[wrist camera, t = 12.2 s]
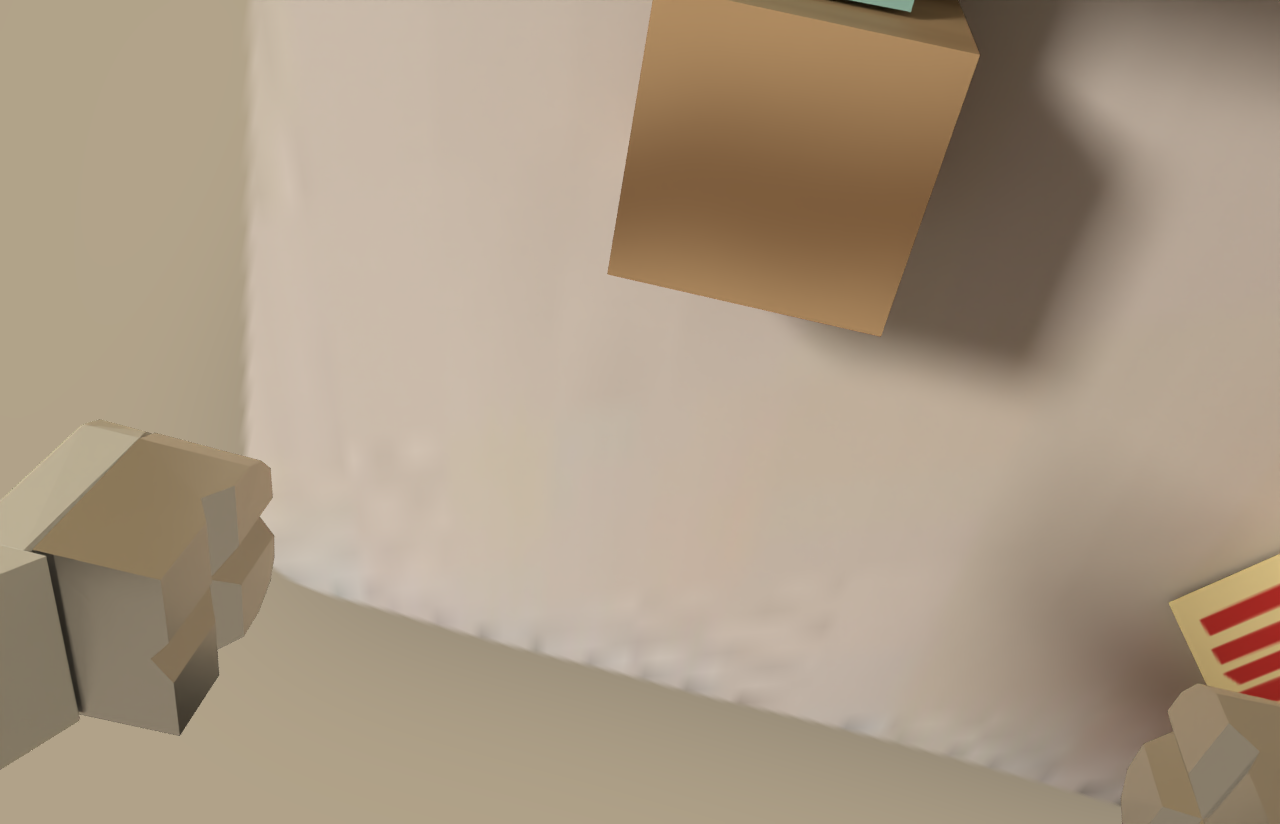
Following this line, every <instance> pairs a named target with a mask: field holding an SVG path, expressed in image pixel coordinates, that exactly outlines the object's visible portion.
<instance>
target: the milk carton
mask: <svg viewBox="0 0 1280 824" xmlns="http://www.w3.org/2000/svg"><path fill="white" fill-rule="evenodd" d="M1169 605H1170V607H1171V609H1172V611H1173V614H1174V616H1175V618H1176V620H1177V622H1178V624H1179V627H1180V629H1181V631H1182V633H1183V635H1184V637H1185V639H1186V642H1187V644H1188V646H1189V648H1190V650H1191V652H1192V655H1193V657H1194V659H1195V661H1196V663H1197V665H1198V667H1199V670H1200V672H1201V674H1202V676H1203V678H1204V680H1205V683H1206V685H1208V686H1212V687H1216V688H1221V689H1225V690H1229V691H1234V692H1238V693H1242V694H1247V695H1251V696H1255V697H1260V698H1264V699H1268V700H1273V701H1277V702H1280V554H1278V555H1276V556H1274V557H1272V558H1269V559H1267V560H1265V561H1262V562H1260V563H1258V564H1256V565H1253V566H1251V567H1249V568H1246V569H1244V570H1242V571H1240V572H1237V573H1235V574H1233V575H1230V576H1228V577H1226V578H1224V579H1221V580H1219V581H1217V582H1215V583H1212V584H1210V585H1208V586H1205V587H1203V588H1201V589H1199V590H1196V591H1194V592H1192V593H1189V594H1187V595H1185V596H1183V597H1180V598H1178V599H1176V600H1173V601H1171V602H1169Z"/></svg>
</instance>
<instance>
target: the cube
mask: <svg viewBox="0 0 1280 824" xmlns="http://www.w3.org/2000/svg"><path fill="white" fill-rule="evenodd" d="M979 57H980V53H979V51H978V48H977V46H976V43H975V41H974V38H973V36H972V34H971V31H970V29H969V26H968V24H967V21H966V19H965V16H964V14H963V11H962V9H961V6H960V4H959V1H958V0H914V3H913V6H912V10H911V12H908V11H903V10H898V9H893V8H888V7H883V6H877V5H872V4H867V3H862V2H857V1H852V0H653V2H652V8H651V14H650V20H649V26H648V32H647V38H646V44H645V50H644V56H643V62H642V69H641V75H640V81H639V87H638V93H637V99H636V105H635V111H634V117H633V123H632V129H631V135H630V141H629V147H628V153H627V159H626V165H625V171H624V177H623V183H622V189H621V195H620V201H619V207H618V213H617V219H616V225H615V231H614V237H613V243H612V249H611V255H610V261H609V267H608V273H607V274H609V275H613V276H617V277H622V278H626V279H630V280H635V281H639V282H644V283H648V284H652V285H657V286H661V287H666V288H670V289H674V290H679V291H683V292H687V293H692V294H696V295H701V296H705V297H709V298H714V299H718V300H722V301H727V302H731V303H736V304H740V305H744V306H749V307H753V308H758V309H762V310H766V311H771V312H775V313H779V314H784V315H788V316H793V317H797V318H801V319H806V320H810V321H814V322H819V323H823V324H828V325H832V326H836V327H841V328H845V329H849V330H854V331H858V332H863V333H867V334H871V335H876V336H880V337H881V335H882V332H883V329H884V326H885V324H886V321H887V318H888V315H889V312H890V309H891V306H892V304H893V301H894V298H895V295H896V292H897V289H898V287H899V284H900V281H901V278H902V275H903V272H904V270H905V267H906V264H907V261H908V258H909V255H910V253H911V250H912V247H913V244H914V241H915V238H916V235H917V233H918V230H919V227H920V224H921V221H922V218H923V216H924V213H925V210H926V207H927V204H928V201H929V199H930V196H931V193H932V190H933V187H934V184H935V182H936V179H937V176H938V173H939V170H940V167H941V164H942V162H943V159H944V156H945V153H946V150H947V147H948V145H949V142H950V139H951V136H952V133H953V130H954V128H955V125H956V122H957V119H958V116H959V113H960V111H961V108H962V105H963V102H964V99H965V96H966V93H967V91H968V88H969V85H970V82H971V79H972V76H973V74H974V71H975V68H976V65H977V62H978V59H979Z"/></svg>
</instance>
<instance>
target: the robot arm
mask: <svg viewBox="0 0 1280 824" xmlns="http://www.w3.org/2000/svg"><path fill="white" fill-rule="evenodd" d="M272 498H273V493H272V481H271V468H270V467H268V466H267V465H266V464H265V463H264V462H262V461H261V460H257V459H253V458H249V457H246V456H242V455H238V454H234V453H230V452H227V451H223V450H219V449H215V448H211V447H208V446H204V445H200V444H196V443H192V442H189V441H185V440H181V439H177V438H173V437H170V436H166V435H162V434H158V433H153V434H152V433H149V432H145V431H141V430H138V429H134V428H130V427H127V426H123V425H119V424H115V423H112V422H108V421H104V420H101V419H99V420H96V421H92V422H89V423H86V424H83V425H81V426H80V427H79V428H78V429H77V430H75V431H74V432H73V433H72V434H71V435H70V436H69V437H68V438H67V439H66V440H65V441H64V442H63V443H61V444H60V445H59V446H58V447H57V448H56V449H55V450H54V451H53V452H52V453H51V454H50V455H49V456H48V457H47V458H45V459H44V460H43V461H42V462H41V463H40V464H39V465H38V466H37V467H36V468H35V469H34V470H32V471H31V472H30V473H29V474H28V475H27V476H26V477H25V478H24V479H23V480H22V481H21V482H20V483H18V484H17V485H16V486H15V487H14V488H13V489H12V490H11V491H10V492H9V493H8V494H7V495H6V496H5V497H3V498H2V499H1V500H0V770H1V769H2V768H4V767H5V766H7V765H9V764H10V763H12V762H13V761H15V760H17V759H18V758H20V757H22V756H23V755H25V754H26V753H28V752H30V751H31V750H33V749H34V748H36V747H38V746H39V745H41V744H42V743H44V742H46V741H47V740H49V739H51V738H52V737H54V736H55V735H57V734H59V733H60V732H62V731H63V730H65V729H67V728H68V727H70V726H71V725H73V724H75V723H76V722H78V721H79V719H80V717H79V714H80V715H85V716H89V717H94V718H99V719H104V720H108V721H113V722H117V723H122V724H126V725H131V726H136V727H140V728H145V729H150V730H155V731H159V732H164V733H168V734H173V735H178V736H180V735H181V733H182V732H183V730H184V729H185V727H186V725H187V724H188V722H189V721H190V719H191V718H192V716H193V715H194V713H195V712H196V710H197V708H198V707H199V705H200V704H201V702H202V700H203V699H204V698H205V696H206V694H207V693H208V691H209V690H210V688H211V687H212V685H213V684H214V682H215V681H216V679H217V678H218V676H219V667H218V652H217V650H218V649H219V648H222V647H224V646H226V645H228V644H229V643H232V642H234V641H236V640H238V639H240V638H242V637H243V636H244V635H245V634H246V632H247V630H248V629H249V627H250V625H251V624H252V622H253V621H254V619H255V617H256V616H257V614H258V612H259V610H260V608H261V605H262V602H263V600H264V597H265V594H266V591H267V589H268V586H269V584H270V581H271V575H272V569H273V563H274V535H273V533H272V532H271V531H270V529H269V528H268V527H267V525H266V524H265V523H264V521H263V520H262V519H261V518H260V515H261V514H262V512H263V511H264V509H265V508H266V507H267V505H268V504H269V502H270V501H271V499H272ZM1167 712H1168V716H1169V719H1170V723H1171V726H1172V730H1173V732H1171V733H1168V734H1166V735H1163V736H1161V737H1159V738H1156V739H1154V740H1152V741H1149V742H1147V743H1144V744H1143V745H1142V747H1141V748H1140V750H1139V752H1138V753H1137V755H1136V756H1135V758H1134V759H1133V761H1132V762H1131V764H1130V765H1129V767H1128V769H1127V773H1126V777H1125V782H1124V786H1123V791H1122V796H1121V812H1122V824H1280V702H1277V701H1273V700H1268V699H1264V698H1260V697H1255V696H1251V695H1247V694H1242V693H1238V692H1234V691H1229V690H1225V689H1221V688H1216V687H1212V686H1208V685H1203V684H1199V683H1197V684H1195V685H1193V686H1192V687H1190V688H1188V689H1186V690H1184V691H1182V692H1181V693H1180V695H1179V696H1178V697H1177V699H1176V700H1175V701H1174V703H1173V704H1172V705H1171V707H1170V708H1169V709H1168V711H1167Z"/></svg>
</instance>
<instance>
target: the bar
mask: <svg viewBox="0 0 1280 824" xmlns="http://www.w3.org/2000/svg"><path fill="white" fill-rule="evenodd" d="M852 1H857V2H862V3H867V4H872V5H877V6H883V7H888V8H893V9H898V10H903V11H908V12H911V10H912V6H913V3H914V0H852Z"/></svg>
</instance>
